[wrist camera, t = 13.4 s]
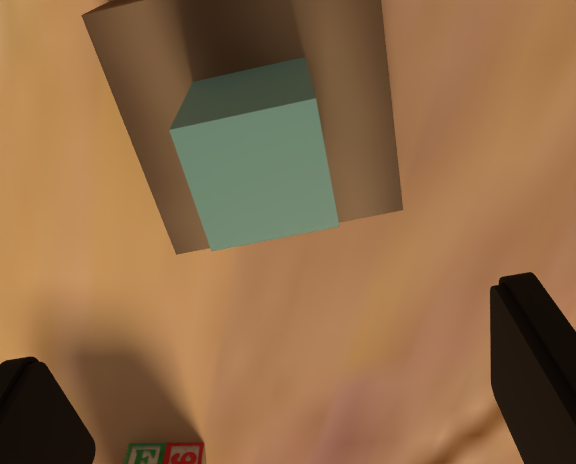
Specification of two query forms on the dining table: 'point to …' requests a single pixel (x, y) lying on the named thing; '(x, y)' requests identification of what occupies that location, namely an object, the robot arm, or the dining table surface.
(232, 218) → the teal block
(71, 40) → the dining table surface
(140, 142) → the walnut block
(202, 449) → the stack of blocks
